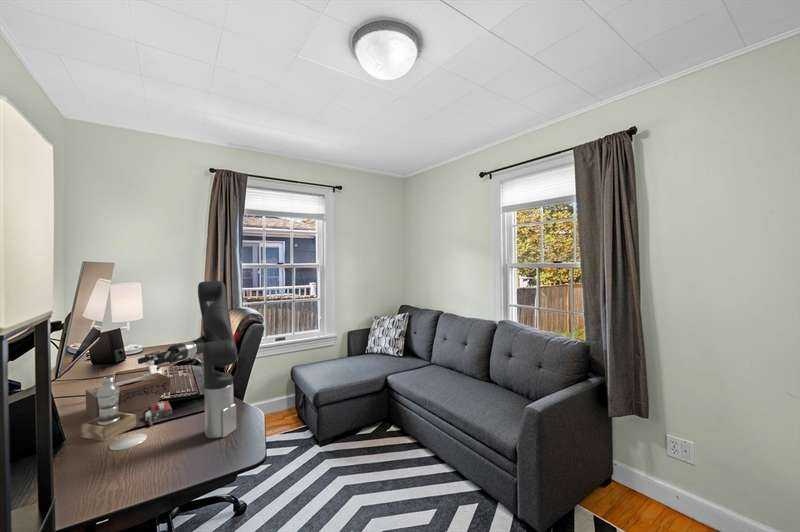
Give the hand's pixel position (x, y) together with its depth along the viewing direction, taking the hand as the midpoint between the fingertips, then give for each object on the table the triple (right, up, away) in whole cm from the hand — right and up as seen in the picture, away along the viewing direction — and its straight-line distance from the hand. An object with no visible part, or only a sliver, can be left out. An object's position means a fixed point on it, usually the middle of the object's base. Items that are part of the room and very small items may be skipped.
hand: (146, 362), depth 133 cm
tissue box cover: (-15, -23, +11) cm, 30 cm away
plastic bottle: (-5, -22, -12) cm, 26 cm away
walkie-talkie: (+4, -23, +1) cm, 23 cm away
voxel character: (-23, -22, +34) cm, 46 cm away
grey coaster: (+9, -22, -19) cm, 30 cm away
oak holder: (-5, -22, -12) cm, 25 cm away
